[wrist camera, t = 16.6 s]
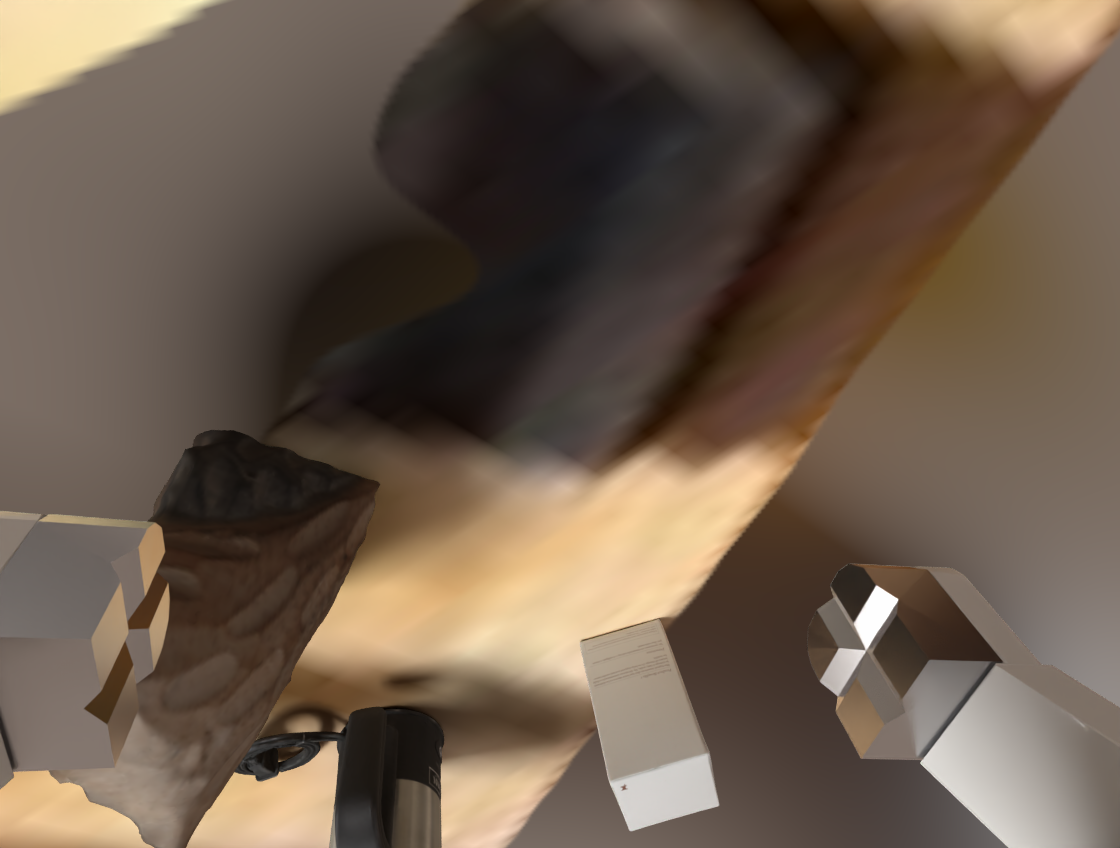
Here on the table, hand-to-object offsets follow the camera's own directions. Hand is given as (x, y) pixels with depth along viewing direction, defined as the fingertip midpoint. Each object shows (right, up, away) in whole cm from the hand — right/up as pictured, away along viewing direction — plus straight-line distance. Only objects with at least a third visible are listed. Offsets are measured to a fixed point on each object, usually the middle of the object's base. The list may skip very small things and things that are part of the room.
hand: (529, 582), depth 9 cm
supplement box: (+6, -18, +54) cm, 57 cm away
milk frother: (-18, -25, +54) cm, 63 cm away
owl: (-18, -3, +40) cm, 44 cm away
